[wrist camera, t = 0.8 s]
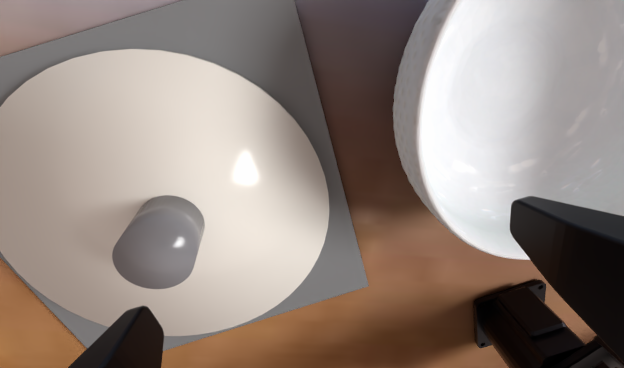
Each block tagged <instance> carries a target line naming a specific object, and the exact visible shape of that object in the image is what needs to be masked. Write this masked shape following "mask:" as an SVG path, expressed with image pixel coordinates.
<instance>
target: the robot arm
mask: <svg viewBox="0 0 624 368" xmlns="http://www.w3.org/2000/svg"><path fill="white" fill-rule="evenodd" d="M510 232H511V235H512V236H513V238H514V239H515V241H516V242H517V243H518V244H519V246H520V247H521V248H522V250H523V251H524V252H525V253H526V255H527V256H528V257H529V258H530V260H531V261H532V262H533V264H534V265H535V266H536V267H537V269H538V270H539V271H540V272H541V274H542V275H543V276H544V278H545V279H546V280H547V281H548V283H549V284H550V285H551V286H552V287H553V288H554V290H555V291H556V292H557V293H558V294H559V295H560V296H561V297H562V299H563V300H564V301H565V302H566V303H567V304H568V305H569V306H570V307H571V308H572V309H573V310H574V311H575V312H576V313H577V314H578V315H579V316H580V317H581V318H582V320H583V321H584V322H585V323H586V324H587V325H588V326H589V327H590V328H591V329H592V330H593V331H594V332H595V333H596V334H597V336H595V337H594V340H592V341H591V342H589V343H587V344H585V343H584V342H583V341H582V340H581V339H580V338H579V337H578V336H577V335H576V334H575V333H573V332H572V331H571V330H570V329H569V328H568V327H567V326H566V324H565V323H564V322H563V321H562V320H561V319H560V318H559V317H558V316H557V315H556V314H555V313H554V312H553V311H552V310H551V309H550V308H549V307H548V306H547V305H546V304H545V303H544V301H545V291H546V284H545V283H544V282H543V281H542V280H537V281H533V282H530V283H527V284H524V285H521V286H518V287H514V288H511V289H508V290H505V291H502V292H499V293H495V294H492V295H489V296H486V297H483V298H480V299H477V300H476V301H475V302H474V321H475V341H476V344H477V346H478V347H479V348H484V347H487V346H490V345H493V346H494V348H495V349H496V351H497V352H498V353H499V355H500V356H501V357H502V359H503V360H504V362H505V363H506V364H507V366H508V367H509V368H624V216H621V215H617V214H612V213H608V212H603V211H598V210H594V209H589V208H585V207H580V206H576V205H571V204H567V203H562V202H558V201H553V200H548V199H544V198H539V197H535V196H527V197H523V198H520V199H516V200H514V201H513V202H512V204H511V214H510ZM163 344H164V331H163V328H162V326H161V325H160V323H159V322H158V320H157V319H156V317H155V316H154V314H153V313H152V311H151V310H150V309H149V307H147V306H139V307H135V308H132V309H129V310H127V311H125V312H124V313H123V314H122V315H121V316H120V317H119V318H118V319H117V320H116V321H115V322H114V323H113V324H112V325H111V326H110V327H109V328H108V329H107V330H106V331H105V332H104V333H103V334H102V335H101V336H100V337H99V338H98V339H97V340H96V341H95V342H94V343H93V344H92V345H91V346H90V347H89V348H88V349H87V350H86V351H84V352H83V353H82V354H81V355H80V356H79V357H78V358H77V359H76V360H75V361H74V362H73V363H72V364H71V365H70V366H69V367H68V368H161V363H162V353H163Z"/></svg>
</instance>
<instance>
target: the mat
mask: <svg viewBox="0 0 624 368" xmlns="http://www.w3.org/2000/svg"><path fill="white" fill-rule="evenodd" d="M133 48H138V49H158V50H167V51H172V52H178V53H183V54H189V55H192V56H195V57H199V58H202V59H205V60H208V61H211V62H214V63H217V64H219V65H221V66H223V67H225V68H228V69H230V70H232V71H234V72H236V73H239V74H240V75H242V76H243V77H245V78H247V79H248V80H250V81H252V82H253V83H255V84H256V85H258V86H260V87H261V88H262V89H263V90H265V91H266V92H267V93H268V94H270V95H271V96H272V97H273V98H275V99H276V100H277V101H278V102H279V103H280V104H281V105H282V106H283V107H284V108H285V109H286V110H287V111H288V112H289V113H290V114H291V115H292V116H293V117H294V119H295V120H296V121H297V123H298V124H299V125H300V127H301V128H302V130H303V131H304V132H305V134H306V135H307V137H308V139H309V141H310V142H311V144H312V146H313V148H314V150H315V152H316V154H317V156H318V159H319V161H320V164H321V167H322V169H323V172H324V175H325V179H326V184H327V189H328V194H329V221H328V229H327V233H326V237H325V242H324V245H323V247H322V250H321V252H320V255H319V257H318V259H317V261H316V263H315V264H314V266H313V268H312V270H311V271H310V273H309V274H308V275H307V277H306V278H305V279H304V280H303V282H302V283H301V284H300V285H299V286H298V287H297V288H296V289H295V290H294V291H293V292H292V293H291V294H290V295H289V296H288V297H287V298H286V299H284V300H283V301H282V302H281V303H279V304H278V305H277V306H275V307H274V308H272V309H270V310H269V311H267V312H266V313H264V314H262V315H260V316H258V317H256V318H254V319H252V320H250V321H248V322H245V323H243V324H240V325H237V326H234V327H231V328H228V329H224V330H220V331H216V332H211V333H205V334H199V335H188V336H164V344H163V351H164V350H167V349H171V348H174V347H177V346H180V345H183V344H186V343H190V342H193V341H196V340H199V339H202V338H205V337H209V336H212V335H215V334H218V333H221V332H225V331H228V330H231V329H234V328H237V327H240V326H244V325H247V324H250V323H253V322H256V321H259V320H263V319H266V318H269V317H272V316H275V315H279V314H282V313H285V312H288V311H291V310H294V309H298V308H301V307H304V306H307V305H310V304H313V303H317V302H320V301H323V300H326V299H329V298H332V297H336V296H339V295H342V294H345V293H348V292H352V291H355V290H358V289H361V288H364V287H367V286H369V285H368V281H367V278H366V274H365V270H364V266H363V262H362V258H361V255H360V251H359V247H358V243H357V239H356V235H355V232H354V228H353V224H352V220H351V216H350V212H349V209H348V205H347V201H346V197H345V193H344V189H343V186H342V182H341V178H340V174H339V170H338V166H337V163H336V159H335V155H334V151H333V147H332V143H331V140H330V136H329V132H328V128H327V124H326V120H325V116H324V113H323V109H322V105H321V101H320V97H319V93H318V90H317V86H316V82H315V78H314V74H313V70H312V67H311V63H310V59H309V55H308V51H307V47H306V44H305V40H304V36H303V32H302V28H301V24H300V21H299V17H298V13H297V9H296V5H295V1H294V0H182V1H179V2H176V3H173V4H169V5H166V6H163V7H160V8H156V9H153V10H150V11H147V12H144V13H140V14H137V15H134V16H131V17H127V18H124V19H121V20H118V21H115V22H111V23H108V24H105V25H102V26H99V27H95V28H92V29H89V30H86V31H82V32H79V33H76V34H73V35H70V36H66V37H63V38H60V39H57V40H53V41H50V42H47V43H44V44H41V45H37V46H34V47H31V48H28V49H24V50H21V51H18V52H15V53H12V54H8V55H5V56H2V57H0V107H1V106H2V104H3V103H4V102H5V100H6V99H7V98H8V97H9V96H10V95H11V94H12V93H14V92H15V91H16V90H17V89H18V88H19V87H20V86H22V85H23V84H24V83H25V82H26V81H28V80H29V79H31V78H33V77H34V76H36V75H38V74H39V73H41V72H43V71H44V70H46V69H48V68H50V67H52V66H55V65H57V64H60V63H62V62H65V61H67V60H70V59H72V58H76V57H80V56H84V55H88V54H93V53H97V52H102V51H110V50H122V49H133ZM0 258H1V259H2V260H3V261H4V262H5V263H6V264H7V265H8V266H9V267H10V268H11V269H12V270H13V271H14V272H15V273H16V274H17V275H18V277H19V278H20V279H21V280H22V281H23V282H24V283H25V284H26V285H27V286H28V287H29V288H30V289H31V290H32V291H33V292H34V293H35V294H36V295H37V296H38V297H39V299H40V300H41V301H42V302H43V303H44V304H45V305H46V306H47V307H48V308H49V309H50V310H51V311H52V312H53V313H54V314H55V315H56V316H57V317H58V318H59V320H60V321H61V322H62V323H63V324H64V325H65V326H66V327H67V328H68V329H69V330H70V331H71V332H72V333H73V334H74V335H75V336H76V337H77V338H78V339H79V340H80V342H81V343H82V344H83V345H84V346H85V347H86V348H87V349H88V348H89V347H90V346H91V345H92V344H93V343H94V342H95V341H96V340H97V339H98V338H99V337H100V336H101V335H102V334H103V333H104V332H105V331H106V330H107V329H108V328H109V327H107V326H104V325H101V324H99V323H96V322H93V321H90V320H88V319H85V318H83V317H81V316H79V315H77V314H75V313H72V312H70V311H68V310H66V309H65V308H63V307H61V306H60V305H58V304H56V303H55V302H53V301H51V300H50V299H48V298H47V297H46V296H44V295H43V294H42V293H40V292H39V291H38V290H36V289H35V288H34V287H32V286H31V285H30V284H29V283H28V282H27V281H26V280H25V279H24V278H23V277H22V276H20V275H19V274H18V273H17V272H16V270H15V269H14V268H13V267H12V266H11V265H10V263H9V262H8V261H7V260H6V259H5V257H4V256H3V255H2V253H1V252H0Z"/></svg>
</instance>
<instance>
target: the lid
mask: <svg viewBox="0 0 624 368" xmlns="http://www.w3.org/2000/svg"><path fill="white" fill-rule="evenodd" d="M328 221H329V194H328V189H327V184H326V179H325V175H324V172H323V169H322V167H321V164H320V161H319V159H318V156H317V154H316V152H315V150H314V148H313V146H312V144H311V142H310V141H309V139H308V137H307V135H306V134H305V132H304V131H303V130H302V128H301V127H300V125H299V124H298V123H297V121H296V120H295V119H294V117H293V116H292V115H291V114H290V113H289V112H288V111H287V110H286V109H285V108H284V107H283V106H282V105H281V104H280V103H279V102H278V101H277V100H276V99H275V98H273V97H272V96H271V95H270V94H268V93H267V92H266V91H265V90H263V89H262V88H261V87H260V86H258V85H256V84H255V83H253V82H252V81H250V80H248V79H247V78H245V77H243V76H242V75H240V74H239V73H236V72H234V71H232V70H230V69H228V68H225V67H223V66H221V65H219V64H217V63H214V62H211V61H208V60H205V59H202V58H199V57H195V56H192V55H189V54H183V53H178V52H172V51H167V50H158V49H138V48H133V49H122V50H110V51H102V52H97V53H93V54H88V55H84V56H80V57H76V58H72V59H70V60H67V61H65V62H62V63H60V64H57V65H55V66H52V67H50V68H48V69H46V70H44V71H43V72H41V73H39V74H38V75H36V76H34V77H33V78H31V79H29V80H28V81H26V82H25V83H24V84H23V85H22V86H20V87H19V88H18V89H17V90H16V91H15V92H14V93H12V94H11V95H10V96H9V97H8V98H7V99H6V100H5V102H4V103H3V104H2V106H1V107H0V252H1V253H2V255H3V256H4V257H5V259H6V260H7V261H8V262H9V263H10V265H11V266H12V267H13V268H14V269H15V270H16V272H17V273H18V274H19V275H20V276H22V277H23V278H24V279H25V280H26V281H27V282H28V283H29V284H30V285H31V286H32V287H34V288H35V289H36V290H38V291H39V292H40V293H42V294H43V295H44V296H46V297H47V298H48V299H50V300H51V301H53V302H55V303H56V304H58V305H60V306H61V307H63V308H65V309H66V310H68V311H70V312H72V313H75V314H77V315H79V316H81V317H83V318H85V319H88V320H90V321H93V322H96V323H99V324H101V325H104V326H107V327H110V326H111V325H112V324H113V323H114V322H115V321H116V320H117V319H118V318H119V317H120V316H121V315H122V314H123V313H124V312H125V311H127V310H129V309H132V308H135V307H139V306H147V307H149V309H150V310H151V311H152V313H153V314H154V316H155V317H156V319H157V320H158V322H159V323H160V325H161V326H162V328H163V331H164V336H188V335H199V334H205V333H211V332H216V331H220V330H224V329H228V328H231V327H234V326H237V325H240V324H243V323H245V322H248V321H250V320H252V319H254V318H256V317H258V316H260V315H262V314H264V313H266V312H267V311H269V310H270V309H272V308H274V307H275V306H277V305H278V304H279V303H281V302H282V301H283V300H284V299H286V298H287V297H288V296H289V295H290V294H291V293H292V292H293V291H294V290H295V289H296V288H297V287H298V286H299V285H300V284H301V283H302V282H303V280H304V279H305V278H306V277H307V275H308V274H309V273H310V271H311V270H312V268H313V266H314V264H315V263H316V261H317V259H318V257H319V255H320V252H321V250H322V247H323V245H324V242H325V237H326V233H327V229H328Z"/></svg>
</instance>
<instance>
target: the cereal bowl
mask: <svg viewBox="0 0 624 368" xmlns="http://www.w3.org/2000/svg"><path fill="white" fill-rule="evenodd" d="M393 121H394V126H393V128H394V132H395V140H396V146H397V149H398V153H399V157H400V160H401V163H402V167H403V169H404V171H405V173H406V174H407V177H408V180H409V182H410V184H411V185H412V186H413V188H414V190H415V192H416V194H417V195H418V196H419V197H420V199H421V200H422V202H423V203H424V204H425V205H426V206H427V207H428V209H429V210H430V212H431V213H432V214H433V215H434V216H435V217H436V218H437V219H438V221H440V222H441V223H442V224H443V225H444V226H445V227H446V228H447V229H448V230H449V231H450V232H451V233H453V234H454V235H455V236H457V237H458V238H459V239H460V240H462V241H463V242H465V243H467V244H468V245H470V246H472V247H474V248H476V249H478V250H480V251H483V252H486V253H488V254H492V255H495V256H499V257H504V258H511V259H524V260H530V258H529V257H528V256H527V255H526V253H525V252H524V251H523V250H522V248H521V247H520V246H519V244H518V243H517V242H516V241H515V239H514V238H513V236H512V235H511V232H510V214H511V204H512V202H513V201H514V200H516V199H520V198H523V197H527V196H535V197H539V198H544V199H548V200H553V201H558V202H562V203H567V204H571V205H576V206H580V207H585V208H589V209H594V210H598V211H603V212H608V213H612V214H617V215H621V216H624V0H429V1H428V2H427V4H426V6H425V8H424V10H423V11H422V13H421V15H420V17H419V19H418V20H417V22H416V24H415V25H414V28H413V31H412V34H411V36H410V38H409V41H408V43H407V45H406V47H405V50H404V55H403V57H402V59H401V64H400V66H399V73H398V76H397V82H396V85H395V93H394V105H393Z"/></svg>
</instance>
